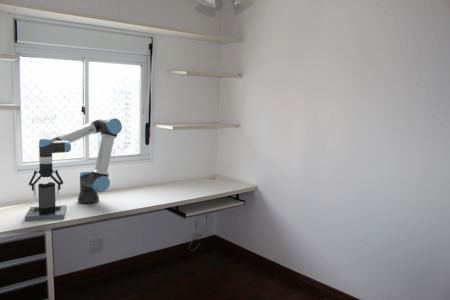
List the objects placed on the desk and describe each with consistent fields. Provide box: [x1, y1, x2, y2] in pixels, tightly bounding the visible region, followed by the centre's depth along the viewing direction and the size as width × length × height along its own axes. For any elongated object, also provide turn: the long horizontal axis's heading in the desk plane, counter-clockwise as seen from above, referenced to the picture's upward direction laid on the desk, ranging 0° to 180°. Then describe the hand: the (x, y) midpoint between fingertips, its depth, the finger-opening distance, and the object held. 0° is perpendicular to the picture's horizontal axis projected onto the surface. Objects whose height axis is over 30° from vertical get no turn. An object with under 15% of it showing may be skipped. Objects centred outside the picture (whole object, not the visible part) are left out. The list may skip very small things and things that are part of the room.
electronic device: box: [37, 181, 57, 214], centre depth 244 cm, size 9×6×20 cm, turn 141°
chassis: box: [24, 204, 67, 222], centre depth 246 cm, size 22×22×4 cm
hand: (46, 195), depth 244 cm, fingers open, 13 cm apart
